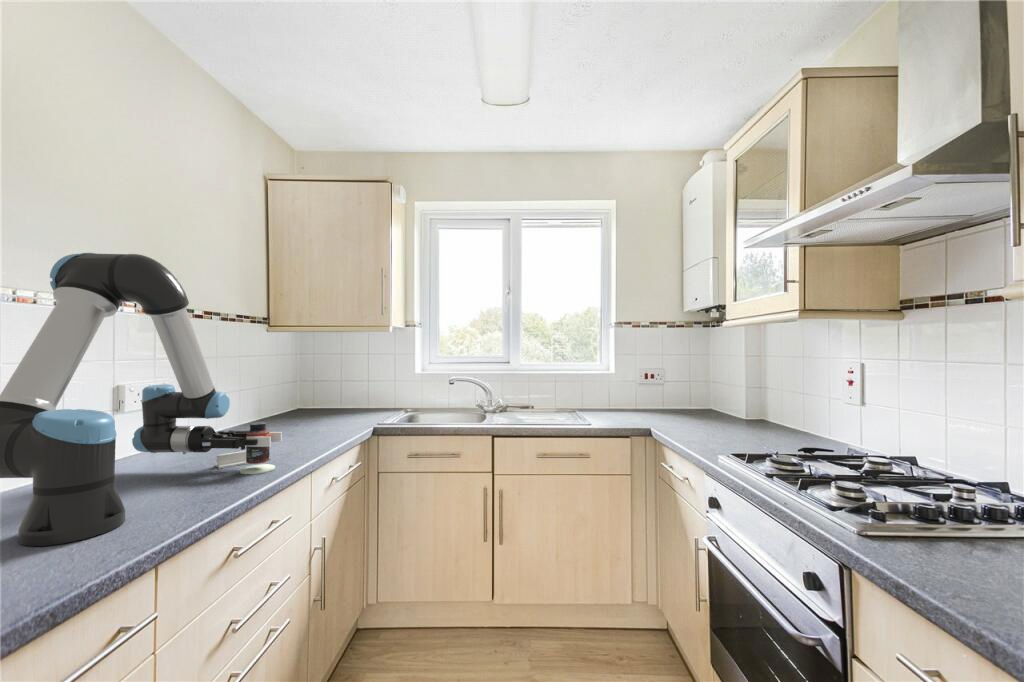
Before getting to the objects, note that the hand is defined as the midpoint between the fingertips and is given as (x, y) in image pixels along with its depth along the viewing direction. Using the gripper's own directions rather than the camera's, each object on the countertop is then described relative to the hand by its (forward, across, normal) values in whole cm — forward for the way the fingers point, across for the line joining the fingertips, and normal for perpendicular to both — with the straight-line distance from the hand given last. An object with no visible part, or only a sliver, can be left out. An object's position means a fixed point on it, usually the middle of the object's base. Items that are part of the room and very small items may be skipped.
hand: (275, 439), depth 132 cm
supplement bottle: (-5, 0, -7) cm, 9 cm away
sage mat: (-5, 0, -9) cm, 10 cm away
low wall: (-14, -8, -9) cm, 19 cm away
